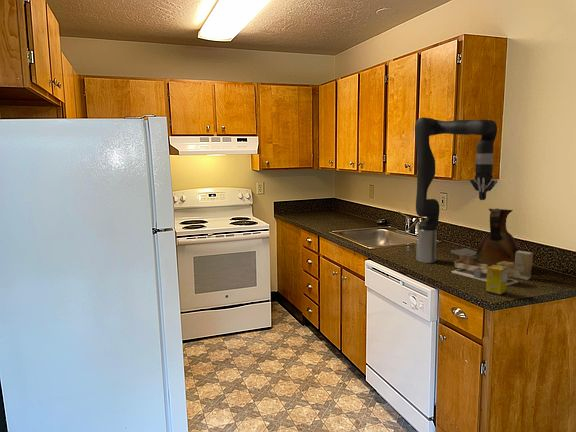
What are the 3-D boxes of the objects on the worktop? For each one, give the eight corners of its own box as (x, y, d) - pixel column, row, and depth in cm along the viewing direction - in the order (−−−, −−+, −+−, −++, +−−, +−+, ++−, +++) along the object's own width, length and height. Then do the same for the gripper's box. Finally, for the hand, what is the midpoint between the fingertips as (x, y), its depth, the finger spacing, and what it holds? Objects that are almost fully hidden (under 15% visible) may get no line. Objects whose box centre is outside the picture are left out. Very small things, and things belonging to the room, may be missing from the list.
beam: (454, 266, 209) (454, 255, 209) (463, 264, 213) (463, 253, 212) (506, 277, 187) (506, 265, 187) (515, 275, 191) (515, 262, 191)
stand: (451, 272, 209) (451, 264, 208) (464, 269, 215) (464, 261, 214) (505, 286, 187) (505, 277, 186) (518, 282, 192) (518, 273, 192)
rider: (459, 264, 208) (459, 254, 208) (464, 263, 211) (464, 253, 210) (468, 266, 204) (468, 256, 204) (473, 265, 206) (474, 254, 206)
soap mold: (466, 252, 252) (466, 246, 252) (489, 260, 233) (489, 254, 233) (450, 253, 250) (450, 247, 249) (472, 261, 231) (473, 255, 230)
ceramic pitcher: (521, 265, 220) (525, 207, 215) (516, 275, 203) (520, 212, 199) (480, 260, 231) (483, 204, 226) (472, 269, 214) (475, 209, 210)
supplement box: (492, 289, 183) (493, 264, 181) (506, 292, 178) (508, 267, 177) (485, 292, 179) (486, 267, 177) (500, 296, 175) (501, 269, 173)
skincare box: (513, 277, 199) (514, 251, 197) (516, 275, 202) (517, 250, 200) (528, 280, 195) (530, 253, 193) (531, 278, 198) (533, 252, 196)
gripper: (466, 163, 206) (465, 199, 209) (492, 163, 195) (490, 201, 198) (476, 162, 210) (474, 198, 213) (502, 163, 199) (500, 200, 202)
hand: (482, 199), depth 205 cm, fingers closed
